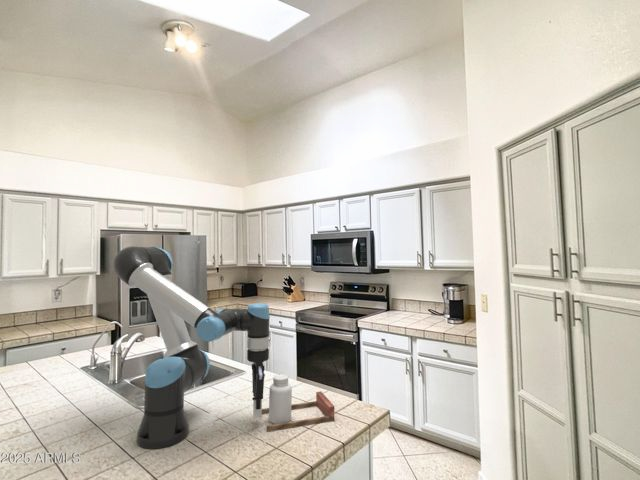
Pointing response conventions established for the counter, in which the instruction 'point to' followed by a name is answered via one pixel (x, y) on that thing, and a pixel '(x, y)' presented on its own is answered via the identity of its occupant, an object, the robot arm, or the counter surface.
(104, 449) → the counter surface
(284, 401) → the pill bottle
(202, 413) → the counter surface
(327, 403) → the guide channel
